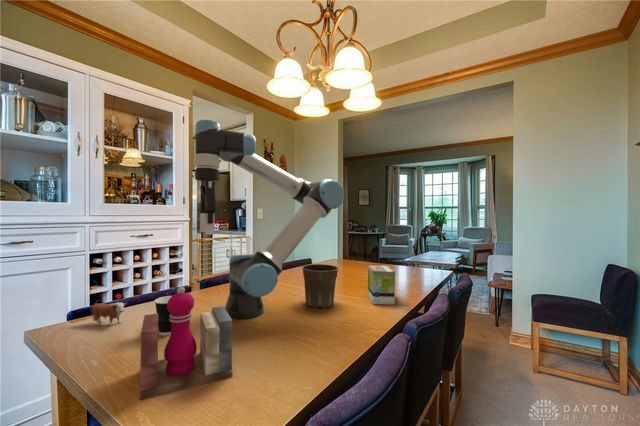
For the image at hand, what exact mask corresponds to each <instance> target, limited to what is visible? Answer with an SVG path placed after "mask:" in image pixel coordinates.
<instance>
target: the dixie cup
mask: <svg viewBox="0 0 640 426" xmlns="http://www.w3.org/2000/svg"><path fill="white" fill-rule="evenodd" d="M172 296H173V295H167V296H161V297H158V298H156V299H154V303H155V312H156V313H155V314H157V313H158V334H159V335H160V336H170V335H171V329H172V324H171V322H170V321H169V319H170V317H169V316H170V314H171V313H170V312H169V311H168V309H167V303H168V300H169V299H170V298H171V297H172Z"/></svg>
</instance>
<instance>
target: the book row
mask: <svg viewBox="0 0 640 426" xmlns="http://www.w3.org/2000/svg"><path fill="white" fill-rule="evenodd" d="M199 315H200V317H199V319H200V321H199V322H200V324H199V326H200V328H199V329H200V330H199V332H200V333H199V351H198V352H196V353H195V355H194V356H193V357H194V359H195V366H194V368H193V369H192V370H191V371H190V372H188V373H185V374H182V375H177V376H173V375H169V374H167V372H166V364H167V363H168V361H167V360H166V359H165V358H164V359H161V360H160V359H158V358H159V354H158V353H159V330H158V313H149V314H145V315H144V316H143V321H142V325H141V329H140V378H139V379H140V382H139V383H140V384H139V385H140V386H139V387H140V388H139V391H140V392H139V400H141V401H142V400H144V399H149V398H152V397H156V396H160V395H164V394H169V393H172V392H177V391H180V390H181V391H182V390H184V389H188V388H192V387H196V386H199V385H204V384H207V383H213V382H215V381H220V380H223V379H228V378H232V377H233V375H234V374H233V371H234V370H233V318H231V317H230V316H229V314H228V313H227V311H226V310H225V306H224V305H223V306H222V305H221V306H216V307H212V308H211V311H206V312H200V313H199Z"/></svg>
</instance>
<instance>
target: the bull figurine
mask: <svg viewBox="0 0 640 426" xmlns="http://www.w3.org/2000/svg"><path fill="white" fill-rule="evenodd" d="M126 305H128V303H127V302H124V303H123V302H118V301H117V302H115V303H94V304H93V305H92V306H91V318H92V320H93V322H95V321H96V325H97V326H98V327H100V326H101V325H102V323H103V321H102V319H101V318H102V317H103V318H104V319H107V318H108V317H109V323H108V325H109V326H110V327H113V326H114V325H113V320H115V319H116V321H117V324H118V325H122V321H121V319H120V318H121V317H120V316H121V314H122V313H123V312H125V309H124V308H125V306H126Z"/></svg>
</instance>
